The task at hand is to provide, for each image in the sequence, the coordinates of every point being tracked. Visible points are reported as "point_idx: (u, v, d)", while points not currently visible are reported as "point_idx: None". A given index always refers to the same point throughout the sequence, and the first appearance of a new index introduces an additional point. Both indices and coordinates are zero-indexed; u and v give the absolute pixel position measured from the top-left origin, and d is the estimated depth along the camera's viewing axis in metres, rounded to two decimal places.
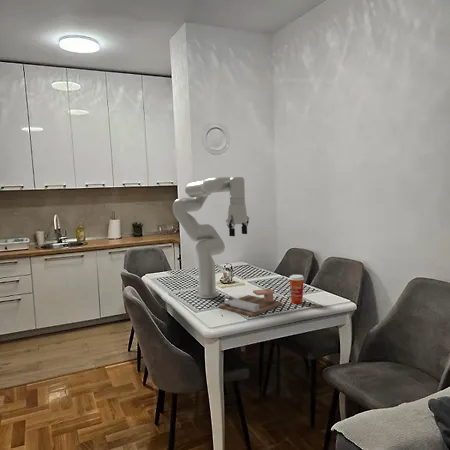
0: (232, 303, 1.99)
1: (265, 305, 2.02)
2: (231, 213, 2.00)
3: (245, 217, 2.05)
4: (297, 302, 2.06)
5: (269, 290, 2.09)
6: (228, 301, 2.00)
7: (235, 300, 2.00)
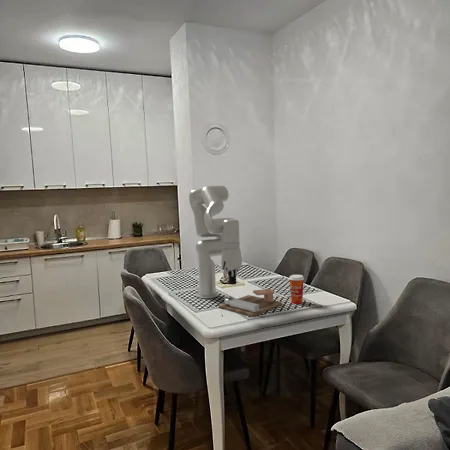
0: (232, 303, 1.99)
1: (265, 305, 2.02)
2: (224, 259, 1.85)
3: (240, 262, 1.90)
4: (297, 302, 2.06)
5: (269, 290, 2.09)
6: (228, 301, 2.00)
7: (235, 300, 2.00)
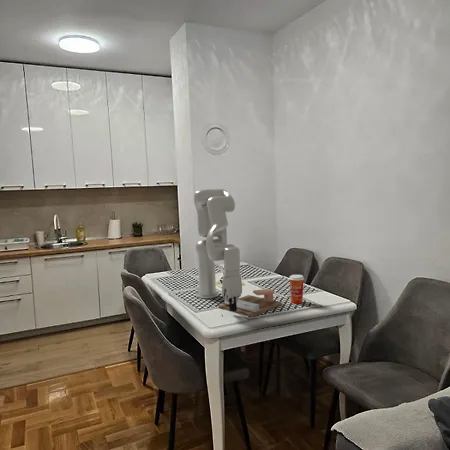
0: None
1: (265, 305, 2.02)
2: (225, 287, 1.86)
3: (240, 289, 1.91)
4: (297, 302, 2.06)
5: (269, 290, 2.09)
6: None
7: None
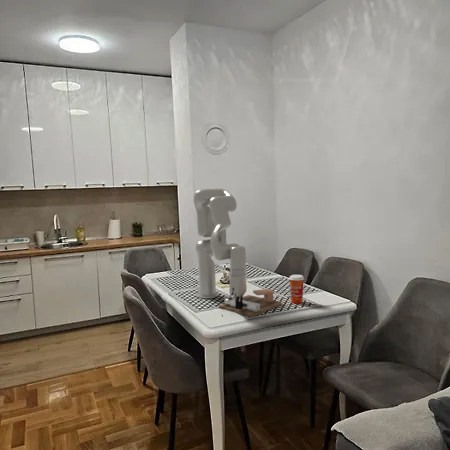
0: (232, 303, 1.99)
1: (265, 305, 2.02)
2: (234, 285, 1.88)
3: (245, 287, 1.95)
4: (297, 302, 2.06)
5: (269, 290, 2.09)
6: (228, 301, 2.00)
7: None
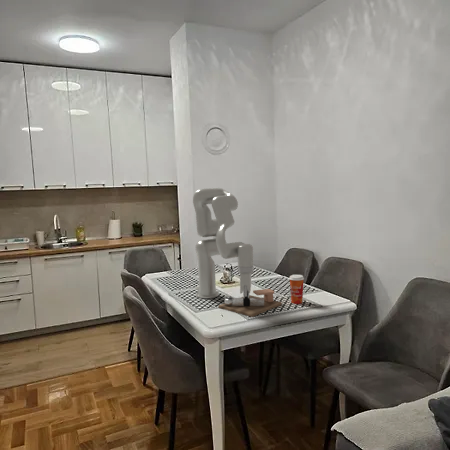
0: (236, 302, 2.01)
1: (265, 305, 2.02)
2: (245, 283, 1.92)
3: None
4: (297, 302, 2.06)
5: (269, 290, 2.09)
6: (231, 301, 2.00)
7: (237, 299, 2.02)
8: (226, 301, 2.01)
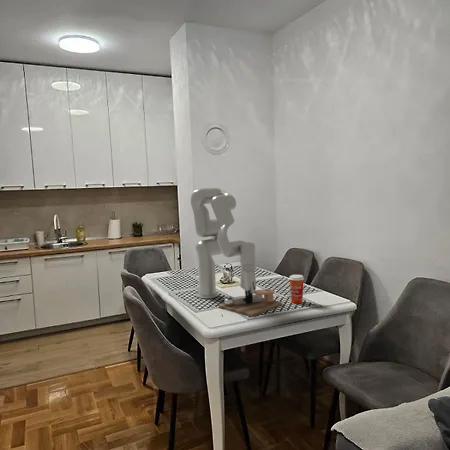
0: (237, 301, 2.02)
1: (265, 305, 2.02)
2: (252, 280, 1.96)
3: None
4: (297, 302, 2.06)
5: (269, 290, 2.09)
6: (232, 300, 2.01)
7: (237, 297, 2.04)
8: (228, 301, 2.00)
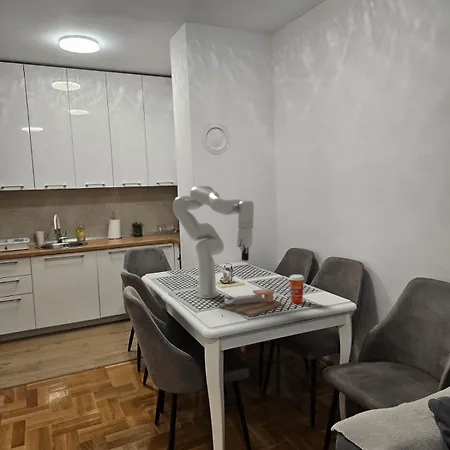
0: (237, 301, 2.02)
1: (265, 305, 2.02)
2: (242, 237, 2.00)
3: (251, 240, 2.07)
4: (297, 302, 2.06)
5: (269, 290, 2.09)
6: (232, 300, 2.01)
7: (237, 297, 2.04)
8: (228, 301, 2.00)
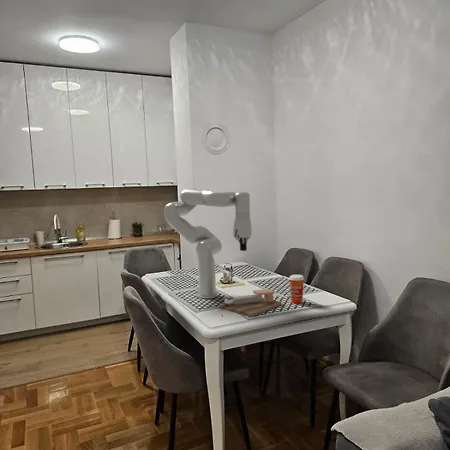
0: (237, 301, 2.02)
1: (265, 305, 2.02)
2: (236, 227, 2.07)
3: (250, 231, 2.12)
4: (297, 302, 2.06)
5: (269, 290, 2.09)
6: (232, 300, 2.01)
7: (237, 297, 2.04)
8: (228, 301, 2.00)
